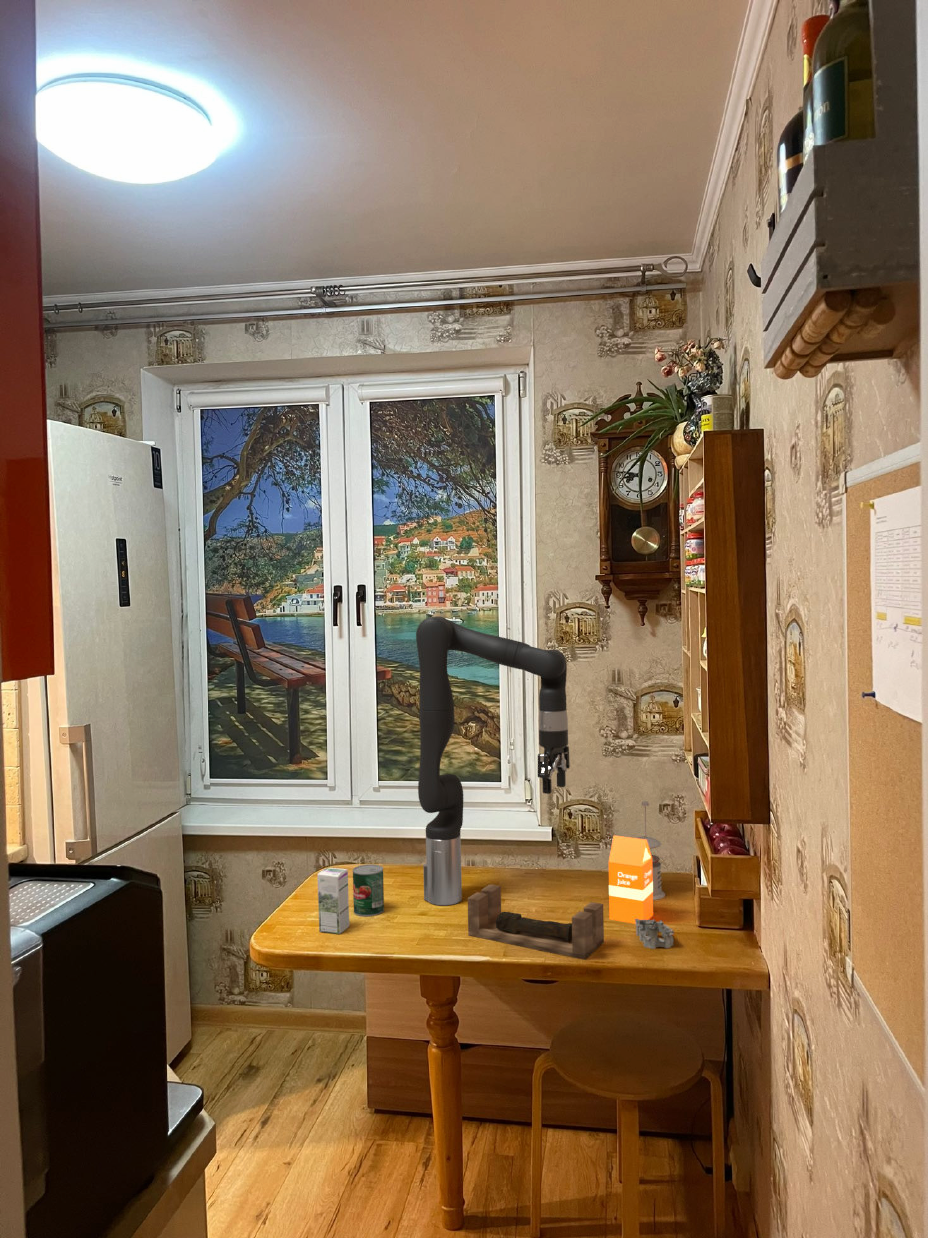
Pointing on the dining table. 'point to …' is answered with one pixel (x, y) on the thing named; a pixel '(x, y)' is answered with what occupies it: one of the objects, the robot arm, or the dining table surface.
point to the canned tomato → (368, 890)
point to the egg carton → (654, 933)
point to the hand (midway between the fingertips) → (554, 790)
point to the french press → (654, 862)
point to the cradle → (581, 946)
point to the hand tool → (533, 926)
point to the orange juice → (630, 880)
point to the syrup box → (333, 900)
